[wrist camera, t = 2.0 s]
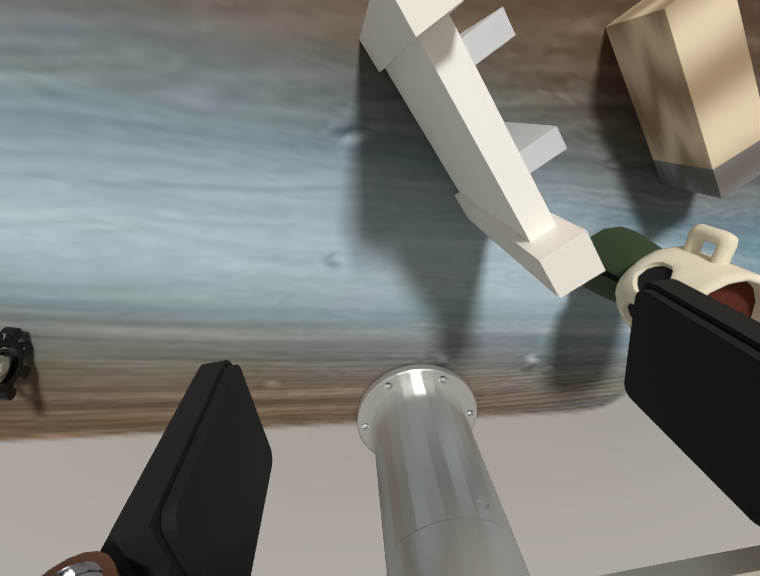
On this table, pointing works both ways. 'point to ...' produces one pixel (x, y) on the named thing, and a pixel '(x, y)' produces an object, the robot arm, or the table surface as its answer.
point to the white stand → (478, 134)
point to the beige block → (692, 91)
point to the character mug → (673, 268)
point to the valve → (12, 361)
